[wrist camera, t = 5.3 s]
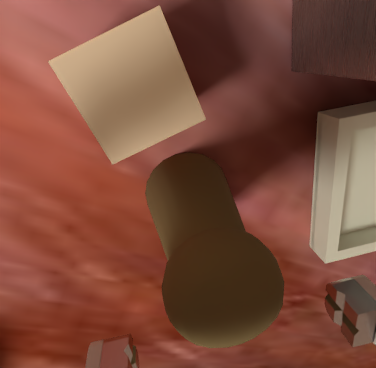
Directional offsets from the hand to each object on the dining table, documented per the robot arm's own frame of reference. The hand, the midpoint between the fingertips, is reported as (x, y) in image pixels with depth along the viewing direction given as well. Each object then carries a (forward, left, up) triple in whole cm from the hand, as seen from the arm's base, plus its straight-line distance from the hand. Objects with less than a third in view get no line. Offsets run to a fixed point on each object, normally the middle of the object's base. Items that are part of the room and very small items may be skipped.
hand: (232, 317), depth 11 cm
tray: (+2, +16, -10) cm, 19 cm away
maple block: (-8, -2, -11) cm, 14 cm away
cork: (0, 0, -11) cm, 11 cm away
